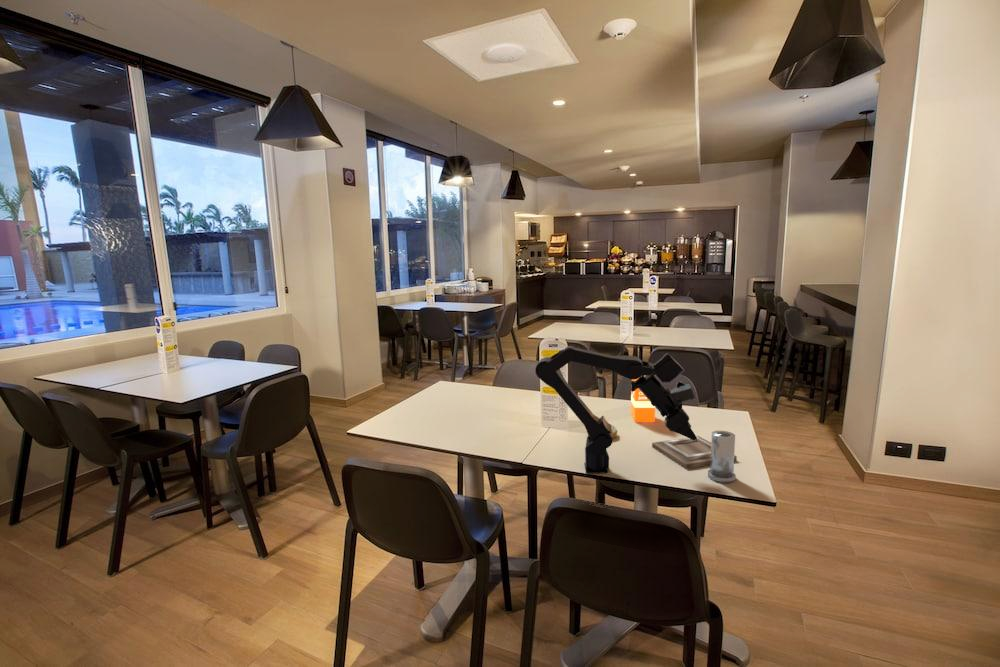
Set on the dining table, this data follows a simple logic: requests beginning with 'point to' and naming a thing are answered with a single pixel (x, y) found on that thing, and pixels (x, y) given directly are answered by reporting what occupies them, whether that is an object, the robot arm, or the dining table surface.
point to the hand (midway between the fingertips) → (692, 433)
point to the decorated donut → (613, 431)
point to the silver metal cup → (722, 457)
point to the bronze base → (687, 451)
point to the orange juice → (641, 407)
